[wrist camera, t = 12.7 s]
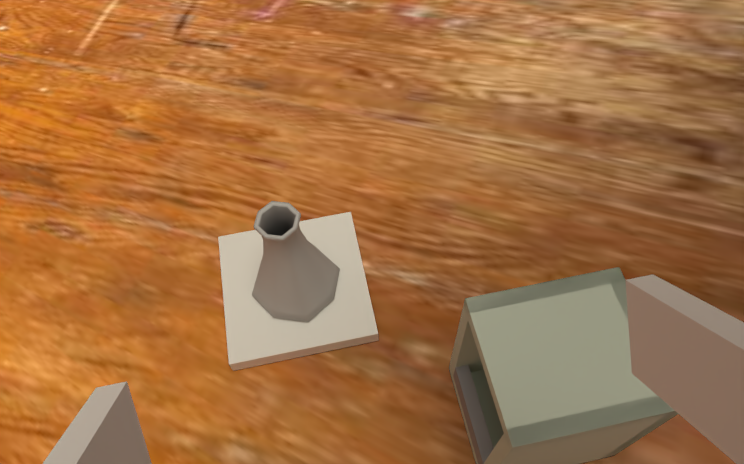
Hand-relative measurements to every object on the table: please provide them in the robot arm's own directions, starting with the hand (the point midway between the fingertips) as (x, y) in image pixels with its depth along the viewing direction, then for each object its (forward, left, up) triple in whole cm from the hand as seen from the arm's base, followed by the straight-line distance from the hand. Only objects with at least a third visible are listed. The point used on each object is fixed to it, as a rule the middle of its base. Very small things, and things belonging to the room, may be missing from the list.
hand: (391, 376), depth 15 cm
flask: (+12, -16, -30) cm, 36 cm away
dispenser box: (-8, -10, -31) cm, 34 cm away
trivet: (+12, -16, -31) cm, 37 cm away
